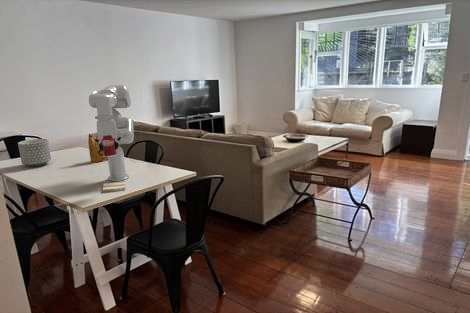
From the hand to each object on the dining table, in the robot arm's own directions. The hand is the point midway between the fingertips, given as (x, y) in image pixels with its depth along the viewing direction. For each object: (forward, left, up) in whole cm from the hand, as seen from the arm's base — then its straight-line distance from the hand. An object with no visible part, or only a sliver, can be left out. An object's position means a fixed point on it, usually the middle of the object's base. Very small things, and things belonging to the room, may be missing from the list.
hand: (109, 149), depth 183 cm
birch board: (-3, 0, -24) cm, 24 cm away
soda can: (0, 0, -4) cm, 4 cm away
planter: (-80, -56, -24) cm, 100 cm away
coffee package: (-74, -12, -24) cm, 79 cm away
